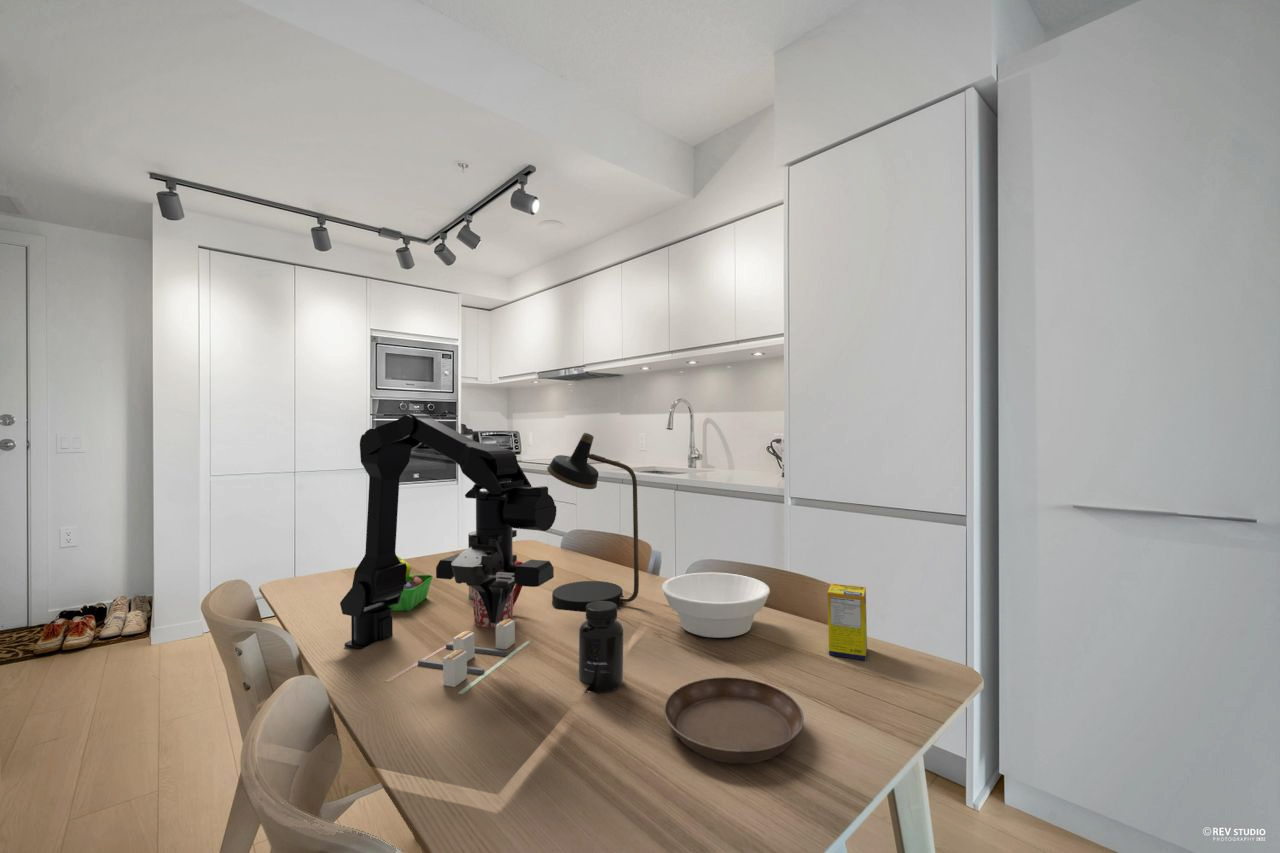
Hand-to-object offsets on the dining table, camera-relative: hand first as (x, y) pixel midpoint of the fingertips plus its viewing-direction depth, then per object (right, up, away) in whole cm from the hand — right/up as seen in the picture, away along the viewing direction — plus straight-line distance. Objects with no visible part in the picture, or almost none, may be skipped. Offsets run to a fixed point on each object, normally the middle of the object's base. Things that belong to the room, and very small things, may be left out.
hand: (494, 622), depth 87 cm
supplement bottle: (+18, -8, -5) cm, 20 cm away
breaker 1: (-4, -7, -6) cm, 10 cm away
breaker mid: (-6, -7, +2) cm, 9 cm away
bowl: (+38, -8, +18) cm, 43 cm away
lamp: (+13, -8, +35) cm, 38 cm away
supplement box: (+60, -8, +6) cm, 61 cm away
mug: (-5, -8, +21) cm, 23 cm away
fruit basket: (-30, -9, +35) cm, 46 cm away
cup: (-14, -9, +40) cm, 43 cm away
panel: (-6, -8, +2) cm, 10 cm away
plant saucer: (+36, -8, -18) cm, 40 cm away
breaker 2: (0, -7, +7) cm, 10 cm away
